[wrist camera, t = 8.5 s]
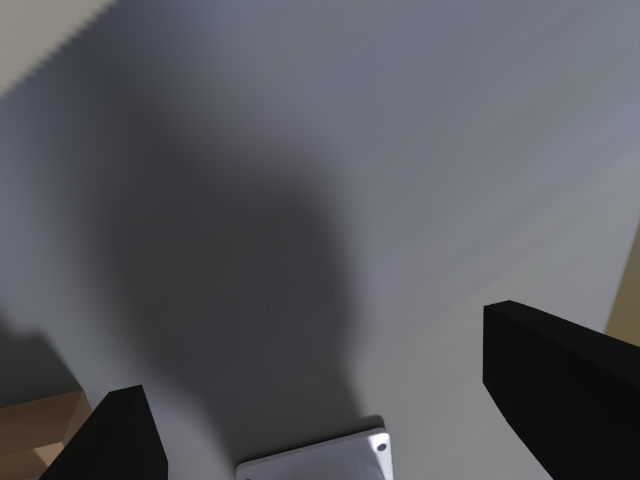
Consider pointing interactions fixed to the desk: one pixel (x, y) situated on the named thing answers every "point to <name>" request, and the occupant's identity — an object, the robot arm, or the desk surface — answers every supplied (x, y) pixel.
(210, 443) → the desk surface
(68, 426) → the brown square box
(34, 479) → the slate block
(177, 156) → the desk surface
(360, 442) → the robot arm
